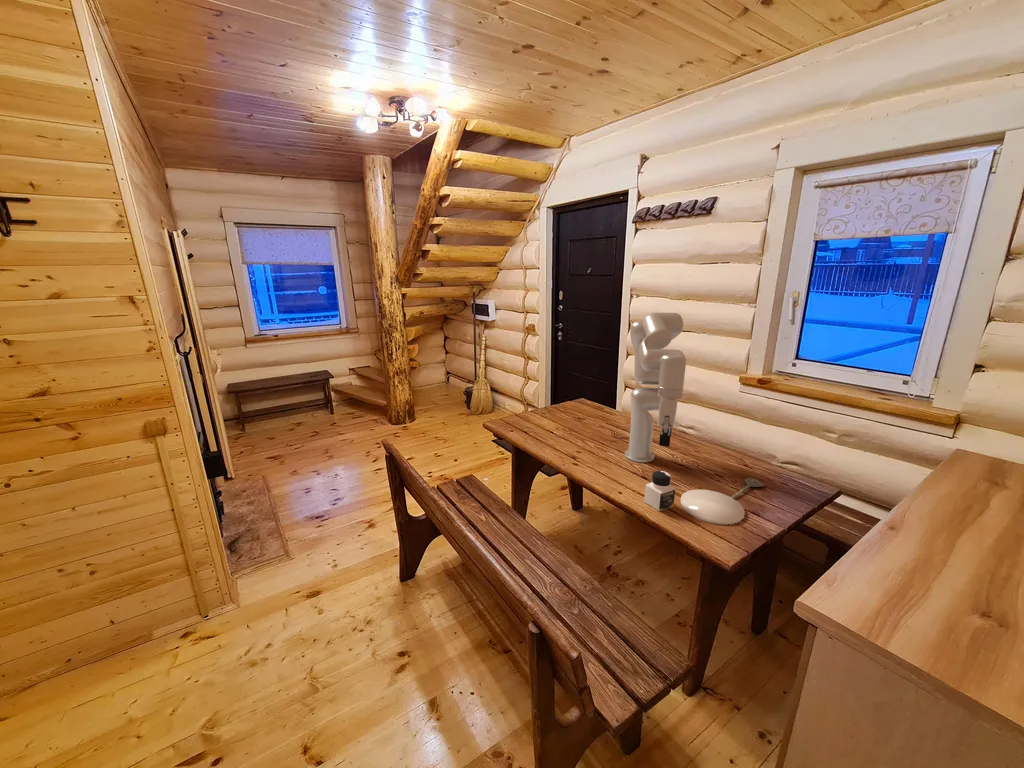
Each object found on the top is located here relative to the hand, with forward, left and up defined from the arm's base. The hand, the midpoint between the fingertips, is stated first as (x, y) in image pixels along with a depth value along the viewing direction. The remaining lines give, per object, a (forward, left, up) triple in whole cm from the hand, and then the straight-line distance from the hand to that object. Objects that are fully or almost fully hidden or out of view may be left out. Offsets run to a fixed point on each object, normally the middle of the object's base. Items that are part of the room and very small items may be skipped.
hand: (665, 440), depth 136 cm
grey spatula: (-23, +29, -25) cm, 44 cm away
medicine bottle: (0, 0, -25) cm, 25 cm away
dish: (-5, +17, -24) cm, 30 cm away
